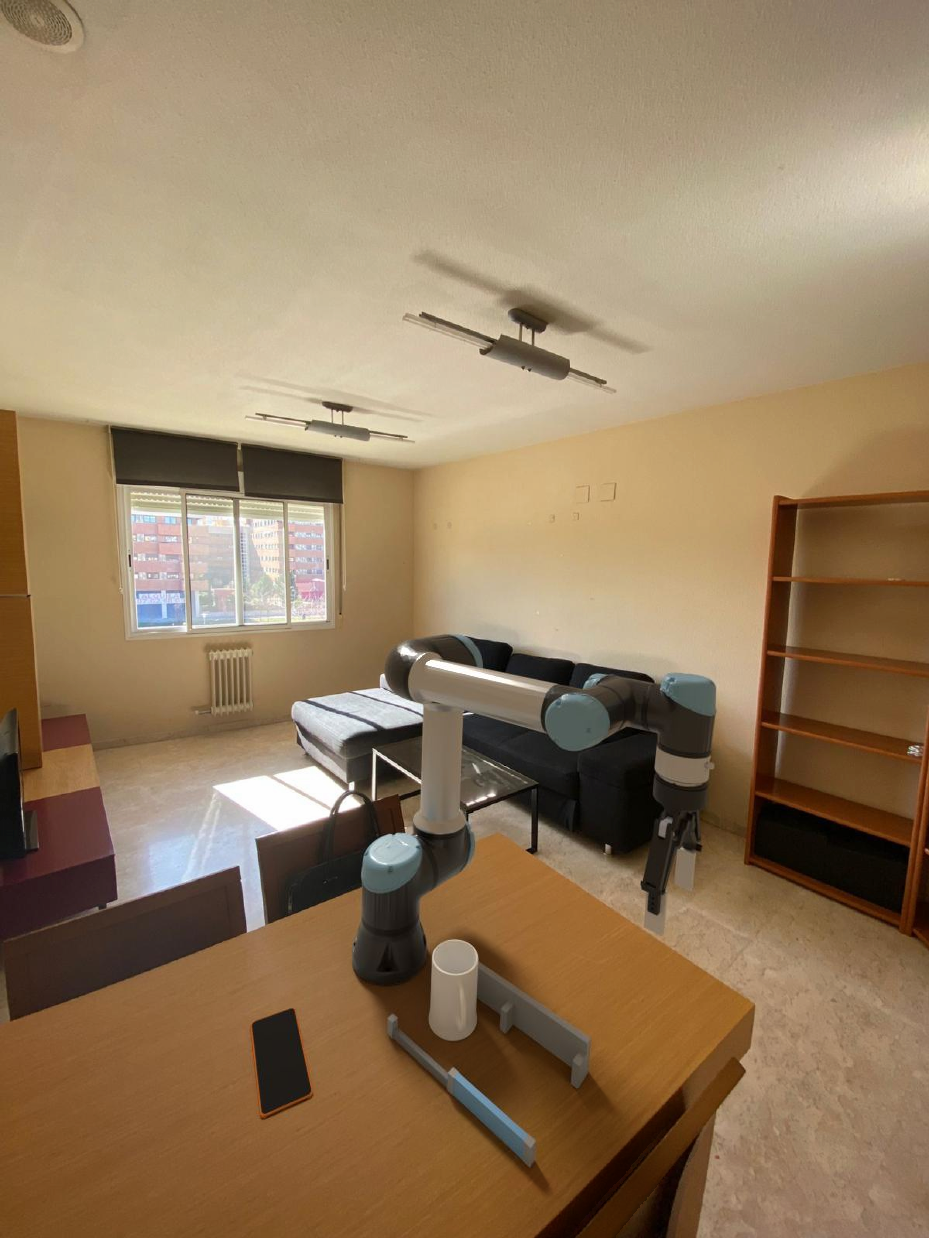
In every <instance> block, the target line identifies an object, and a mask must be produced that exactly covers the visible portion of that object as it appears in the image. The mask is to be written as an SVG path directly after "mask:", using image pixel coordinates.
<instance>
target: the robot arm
mask: <svg viewBox="0 0 929 1238" xmlns="http://www.w3.org/2000/svg"><path fill="white" fill-rule="evenodd" d="M483 665H484V663H483V658H482V654H481V652H480V650H479V648H478V646H476V644H475V643H474V642H473V640H471V639H470V638H469V637H467V636H465V635H462V634H457V633H455V634H452V633H451V634H450V633H448V634H447V633H444V634H439V635H431V636H426V637H420V638H409V639H407V640H403V641H401V642H399V643H398V644H397V645H395V646H394V647H393V648H392V649H391V650H390V651H389V653H388V655H387V657H386V660H385V662H384V668H383V672H384V678H385V682H386V684H387V686H388V687H389V688H390V690H391V691H392V692H393V693H394V694H395V695H396V696H398V697H399V698H401V699H403V700H407V701H409V702H413V703H416V704H419V705H422V707H423V709H422V711H423V712H422V736H421V737H422V739H421V741H422V742H421V747H422V748H421V772H420V773H421V777H420V807H419V808H420V809H419V810H418V811H417V812H416V813H415V814H414V816H413V820H412V833H411V834H409V833H405V832H396V833H395V834H392V833H388V834H386V835H383V836H381V837H378V838H377V839H375V840H374V841H373V842H372V843H371V844H369V846H368V847H367V849H365V852H364V854H363V860H362V867H361V873H360V874H361V875H360V877H361V921H360V923H359V927H358V929H357V933H356V936H355V938H354V940H353V944H352V948H351V963H352V968H353V970H354V971H355V973H356V974H357V975H358V977H360V978H361V979H362V980H364V981H366V982H368V983H370V984H374V985H378V986H394V985H399V984H402V983H405V982H407V981H409V980H411V979H412V978H414V977H415V976H416V975H418V974H419V973H420V971H421V970H422V968H423V967H424V966H425V964H426V961H427V957H428V941H427V936H426V933H425V931H424V927H423V925H422V921H421V918H420V913H421V912H420V911H421V909H420V908H421V899H422V898H423V897H424V896H426V895H428V894H429V893H430V892H432V891H433V890H435V889H437V888H438V887H439V886H441V885H443V884H444V883H445V882H447V881H448V880H450V879H452V878H453V877H455V876H457V875H458V874H461V872H462V871H463V870H464V869H465V868H467V867H468V866H469V864H470V863H471V862H472V860H473V859H474V855H475V851H476V839H475V837H476V836H475V833H474V832H473V831H472V830H471V829H472V827H471V824H470V823H469V822H468V821H467V818H466V815H465V814H464V813H463V812H462V811H461V810H460V808H461V807H460V804H461V782H462V781H461V779H462V776H461V775H462V755H463V754H462V752H463V751H462V749H463V747H462V746H463V727H464V724H463V723H464V711H465V712H470V713H474V714H477V715H479V716H484V717H487V718H491V719H494V720H498V721H501V722H505V723H509V724H512V725H516V726H519V727H523V728H527V729H529V730H534V731H536V732H540V733H543V734H544V733H545V734H546V735H547V734H548V736H549V738H550V739H551V740H552V742H554V743H555V744H556V745H557V746H558V747H559V748H561V749H563V750H566V751H570V752H578V751H582V750H585V749H589V748H592V747H594V746H596V745H598V744H600V743H601V742H602V741H603V740H605V739H606V738H608V737H610V736H611V735H613V734H615V733H618V732H619V731H621V730H622V729H625V728H626V727H628V728H634V729H638V730H643V731H646V732H651V733H652V732H653V733H656V734H657V739H656V740H657V742H656V752H655V760H654V770H655V774H654V776H653V777H654V778H653V789H652V796H653V798H654V799H655V800H656V801H657V802H658V803H659V804H661V806H662V807H663V811H661V813H660V815H659V818H656V819H655V820H654V823H653V831H652V833H653V834H652V838H651V843H650V847H649V851H648V855H647V858H646V859H647V860H646V864H645V869H644V873H643V877H642V880H640V883H639V885H640V889H641V890H642V891H644V892H646V894H645V906H644V908H645V909H644V915H643V916H644V917H643V928H645V929H646V930H649V931H650V932H653V933H654V934H656V935H659V936H660V937H664V936H663V935H665V929H666V928H665V927H666V926H665V925H666V918H667V917H666V915H667V905H668V904H667V903H668V893H669V891H667V887H668V886H667V885H668V882H669V879H670V875H671V872H672V868H673V864H674V861H675V862H676V863H675V870H674V881H673V885H675V886H677V887H678V888H681V889H683V890H686V891H688V892H692V891H693V887H694V878H695V869H696V868H695V866H696V856H697V852H699V853H702V852H703V851H702V850H703V845H702V844H700V842H701V840H702V833H701V820H700V811H702V810H705V808H706V807H707V804H708V793H709V792H708V791H709V784H708V782H707V781H709V778H710V770H714V769H715V764H714V762H710V759H711V758H712V746H713V738H714V731H715V730H714V728H715V721H716V714H717V707H716V705H717V685H716V683H715V682H714V681H713V680H712V679H711V678H709V677H706V676H704V675H699V674H693V673H684V672H683V673H682V672H670V673H666V674H664V676H663V677H662V680H661V681H662V682H659V683H655V682H649V681H644V680H640V679H639V680H638V679H634V678H628V677H622V676H620V675H619V676H618V675H616V674H613V673H612V674H611V673H610V674H605V673H603V674H602V673H594V674H592V675H590V676H589V677H588V680H586V681H585V683H584V684H583V688H577V687H573V686H568V685H562V684H558V683H554V682H550V681H544V680H539V679H535V678H531V677H525V676H521V675H517V674H510V673H507V672H502V671H497V670H492V669H487V668H484V666H483ZM675 857H676V860H675Z"/></svg>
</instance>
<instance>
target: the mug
mask: <svg viewBox="0 0 929 1238" xmlns="http://www.w3.org/2000/svg"><path fill="white" fill-rule="evenodd" d="M478 961H479V954H478V951H477V950H476V949H475V947H474V946H473V945H472V944H470V943H469V942H467V941H465V940H461V939H449V940H445V941H442V942H441V943H439V944H438V945H437V946H435V948H434V950H433V952H432V955H431V976H430V977H431V980H430V984H431V985H430V1003H429V1004H430V1007H429V1013H428V1024H429V1027H430V1029H431V1030H432V1032H433V1034H434V1035H436V1036H437V1037H438V1038H440V1039H442V1040H444V1041H449V1042H457V1041H461V1040H464V1039H466V1038H467V1037H469V1036H470V1035H471V1034H472V1033H473V1032H474V1030H475V1029H476V1026H477V1023H478V1022H477V1021H478V1016H477V999H478V998H477V977H478Z"/></svg>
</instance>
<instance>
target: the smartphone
mask: <svg viewBox="0 0 929 1238" xmlns="http://www.w3.org/2000/svg"><path fill="white" fill-rule="evenodd" d="M249 1026H250V1028H249V1029H250V1038H251V1046H252V1056H253V1062H254V1063H253V1065H254V1072H255V1083H256V1090H257V1091H256V1092H257V1098H258V1099H257V1101H258V1109H259V1117H260V1118H261V1119H266V1118H268V1117H271V1116H272V1115H275V1114H277V1113H280V1112H282V1111H284V1110H285V1109H287V1108H290V1107H293V1106H295V1105H298V1104H300V1103H302V1102H304V1101H306V1100H308V1099H310V1098H312V1096H313V1095H314V1090H313V1089H314V1088H313V1085H312V1080H311V1076H310V1071H309V1066H308V1062H307V1057H306V1052H305V1048H304V1041H303V1039H304V1038H303V1035H301V1033H302V1032H301V1031H302V1030H301V1026H300V1020H299V1018H298V1015H297V1010H296V1008H295V1007H293V1006H291V1007H289V1008H286V1009H284V1010H282V1011H278V1012H276V1013H273V1014H270V1015H268V1016H264V1017H261V1018H259V1019H256V1020H254V1021H252V1022H251V1023H250V1025H249Z"/></svg>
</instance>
